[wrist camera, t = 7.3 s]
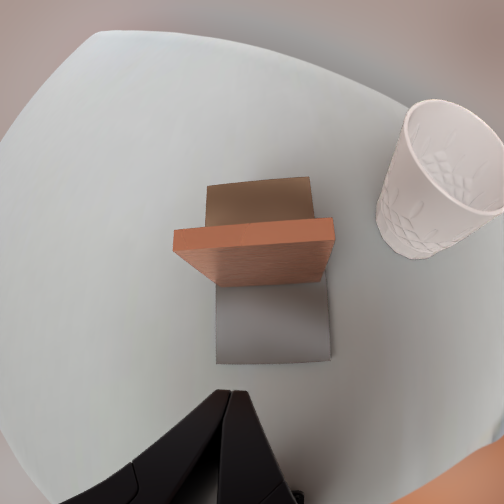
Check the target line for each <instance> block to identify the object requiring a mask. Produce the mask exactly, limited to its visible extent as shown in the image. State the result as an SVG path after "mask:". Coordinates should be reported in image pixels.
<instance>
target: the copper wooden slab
mask: <svg viewBox="0 0 504 504" xmlns="http://www.w3.org/2000/svg"><path fill="white" fill-rule="evenodd" d="M334 242H335V233H334V225H333V218H316V219H301V220H286V221H272V222H259V223H246V224H234V225H223V226H211V227H200V228H190V229H179V230H174V240H173V252H175V253H176V254H177V255H179V256H180V257H181V258H182V259H184V260H185V261H186V262H188V263H189V264H190V265H192V266H193V267H194V268H196V269H197V270H198V271H200V272H201V273H202V274H204V275H205V276H206V277H208V278H209V279H210V280H212V281H213V282H214V283H216V284H217V285H218V286H220V287H243V286H263V285H281V284H298V283H313V282H320V281H321V278H322V275H323V273H324V270H325V267H326V265H327V262H328V259H329V256H330V254H331V251H332V248H333V245H334Z"/></svg>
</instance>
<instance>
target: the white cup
mask: <svg viewBox="0 0 504 504" xmlns="http://www.w3.org/2000/svg"><path fill="white" fill-rule="evenodd" d="M503 212H504V144H503V143H502V141H501V140H500V139H499V137H498V136H497V134H496V133H495V132H494V131H493V130H492V129H491V128H490V127H489V126H488V125H487V124H486V123H485V122H484V121H483V120H482V119H481V118H479V117H478V116H477V115H475V114H474V113H472V112H471V111H469V110H467V109H466V108H464V107H462V106H460V105H457V104H455V103H452V102H449V101H445V100H439V99H429V100H423V101H420V102H418V103H416V104H414V105H413V106H412V107H411V108H410V109H409V110H408V112H407V114H406V116H405V119H404V123H403V126H402V129H401V132H400V136H399V139H398V142H397V145H396V148H395V151H394V154H393V156H392V159H391V162H390V165H389V168H388V172H387V175H386V177H385V180H384V183H383V188H382V192H381V194H380V197H379V199H378V202H377V207H376V223H377V225H378V228H379V231H380V233H381V236H382V238H383V239H384V240H385V242H386V243H387V244H388V245H389V246H390V247H391V248H392V249H393V250H394V251H395V252H396V253H398V254H401V255H403V256H405V257H407V258H409V259H427V258H429V257H431V256H433V255H434V254H436V253H437V252H439V251H441V250H443V249H446V248H449V247H450V246H452V245H454V244H456V243H458V242H459V241H461V240H463V239H464V238H466V237H468V236H469V235H471V234H472V233H474V232H475V231H477V230H478V229H480V228H481V227H483V226H484V225H486V224H487V223H489V222H490V221H492V220H493V219H494V218H496V217H497V216H499V215H500V214H502V213H503Z"/></svg>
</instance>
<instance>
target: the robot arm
mask: <svg viewBox="0 0 504 504" xmlns="http://www.w3.org/2000/svg"><path fill="white" fill-rule="evenodd" d="M296 495H299V496H300V497H298V498H296V497H294V496H296ZM60 504H304V493H303V492H302V491H290V489H289V486H288V484H287V482H285V478H284V476H283V474H282V472H281V469H280V467H279V465H278V463H277V460H276V458H275V456H274V454H273V451H272V449H271V447H270V444H269V442H268V440H267V437H266V435H265V433H264V430H263V428H262V426H261V423H260V421H259V418H258V416H257V413H256V411H255V409H254V406H253V404H252V401H251V399H250V396H249V394H248V392H247V391H240V390H234V391H232V392H231V391H230V390H220V389H218V390H215V391H214V392H213V393H212V394H210V395H209V396H208V397H207V398H206V399H205V400H204V401H203V402H202V403H201V404H199V405H198V406H197V407H196V408H195V409H194V410H193V411H192V412H190V413H189V414H188V415H187V416H186V417H185V418H184V419H182V420H181V421H180V422H179V423H178V424H177V425H175V426H174V427H173V428H172V429H171V430H169V431H168V432H167V433H166V434H165V435H163V436H162V437H161V438H160V439H159V440H157V441H156V442H155V443H154V444H152V445H151V446H150V447H149V448H147V449H146V450H145V451H144V452H142V453H141V454H140V455H139V456H137V457H136V458H135V459H134V460H132V462H129V463H128V464H127V465H125V466H124V467H123V468H122V469H120V470H119V471H117V472H116V473H114V474H113V475H112V476H110V477H109V478H107V479H106V480H104V481H102V482H101V483H99V484H97V485H95V486H94V487H92V488H90V489H88V490H86V491H84V492H82V493H81V494H78V495H76V496H74V497H72V498H70V499H68V500H66V501H64V502H62V503H60Z"/></svg>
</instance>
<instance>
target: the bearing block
mask: <svg viewBox="0 0 504 504" xmlns="http://www.w3.org/2000/svg"><path fill="white" fill-rule="evenodd" d="M301 219H316V218H314V211H313V202H312V194H311V186H310V179H309V177H296V178H283V179H270V180H259V181H248V182H238V183H229V184H220V185H212V186H207V198H206V218H205V227H211V226H223V225H234V224H246V223H259V222H272V221H286V220H301ZM319 361H331V357H330V331H329V312H328V297H327V283H326V271H325V270H324V273H323V275H322V278H321V281H320V282H313V283H298V284H281V285H263V286H243V287H220V286H218V285H217V284H216V364H284V363H304V362H319Z"/></svg>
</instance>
